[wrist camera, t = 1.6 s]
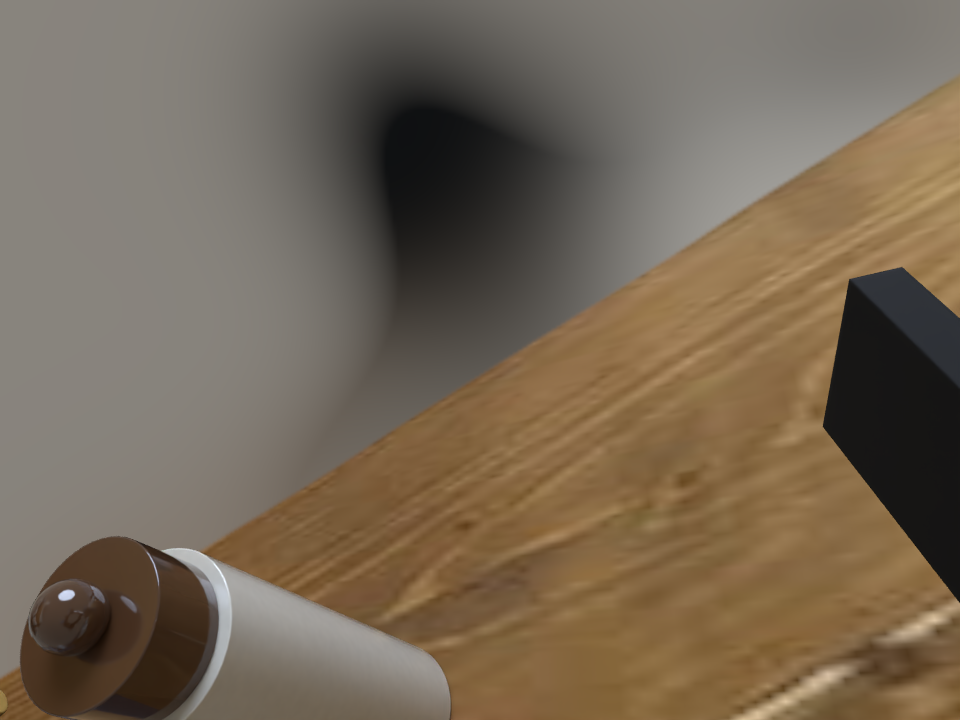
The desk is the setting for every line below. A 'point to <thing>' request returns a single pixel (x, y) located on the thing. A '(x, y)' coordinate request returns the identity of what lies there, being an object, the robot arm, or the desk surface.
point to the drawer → (3, 703)
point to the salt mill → (209, 646)
